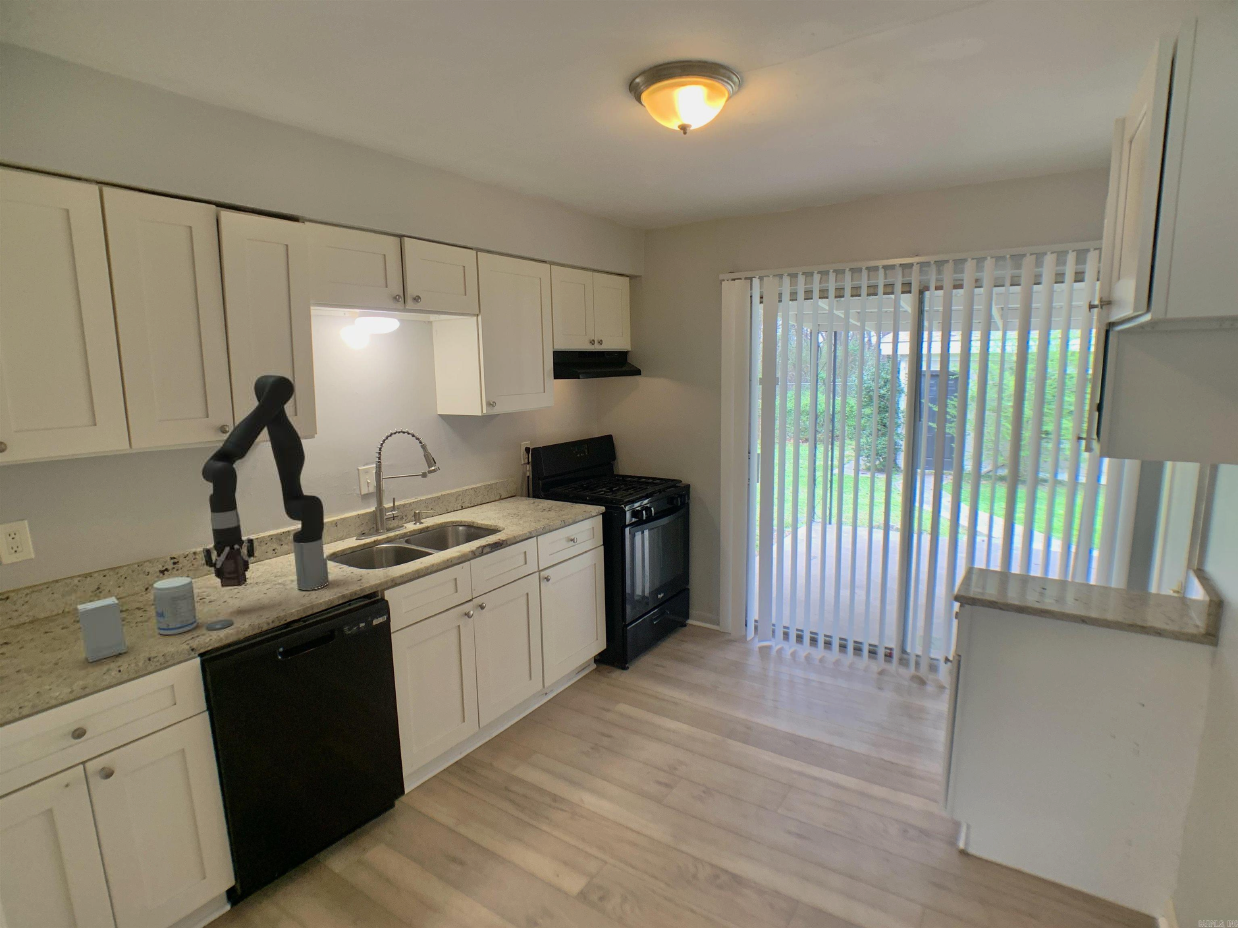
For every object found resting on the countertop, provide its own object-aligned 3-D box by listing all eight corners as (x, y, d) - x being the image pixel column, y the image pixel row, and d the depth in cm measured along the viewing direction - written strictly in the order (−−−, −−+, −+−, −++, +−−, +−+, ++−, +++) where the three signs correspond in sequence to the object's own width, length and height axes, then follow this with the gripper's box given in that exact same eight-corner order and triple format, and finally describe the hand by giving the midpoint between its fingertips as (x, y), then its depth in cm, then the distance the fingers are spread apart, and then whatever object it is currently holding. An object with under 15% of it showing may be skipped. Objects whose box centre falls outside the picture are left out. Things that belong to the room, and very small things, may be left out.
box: (247, 581, 196) (242, 545, 194) (240, 586, 192) (235, 550, 189) (228, 582, 195) (223, 546, 193) (220, 587, 191) (215, 551, 189)
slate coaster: (227, 619, 188) (226, 617, 188) (237, 624, 184) (237, 622, 184) (201, 627, 182) (201, 625, 182) (212, 632, 178) (211, 630, 178)
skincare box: (123, 646, 170) (116, 595, 168) (127, 652, 166) (120, 600, 164) (84, 656, 164) (76, 603, 162) (87, 663, 160) (79, 609, 158)
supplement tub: (150, 632, 179) (144, 584, 177) (184, 620, 187) (179, 574, 185) (170, 638, 175) (164, 589, 173) (204, 625, 184) (199, 578, 181)
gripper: (244, 517, 198) (251, 566, 201) (194, 528, 186) (202, 579, 189) (255, 520, 194) (262, 570, 197) (205, 531, 182) (212, 584, 185)
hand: (232, 574), depth 193 cm, fingers closed on box, 7 cm apart
